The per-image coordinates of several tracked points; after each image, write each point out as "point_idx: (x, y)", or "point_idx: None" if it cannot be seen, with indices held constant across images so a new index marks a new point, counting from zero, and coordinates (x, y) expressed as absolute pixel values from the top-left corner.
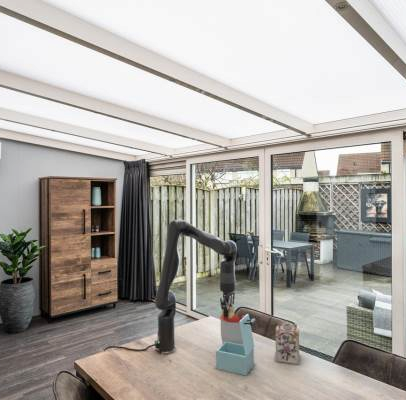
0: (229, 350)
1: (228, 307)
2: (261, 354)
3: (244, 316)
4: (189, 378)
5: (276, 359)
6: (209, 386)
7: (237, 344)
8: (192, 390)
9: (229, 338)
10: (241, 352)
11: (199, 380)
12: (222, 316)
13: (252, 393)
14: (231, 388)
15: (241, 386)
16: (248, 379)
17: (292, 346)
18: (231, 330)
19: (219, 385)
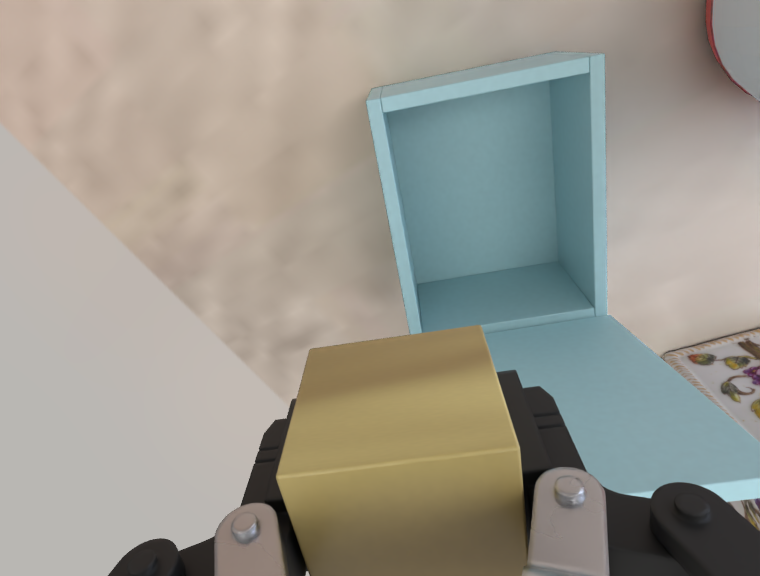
0: (567, 102)
1: (395, 565)
2: (733, 241)
3: (647, 493)
4: (134, 10)
5: (669, 361)
6: (165, 183)
7: (594, 189)
8: (56, 126)
9: (747, 12)
10: (572, 208)
11: (168, 88)
12: (308, 360)
13: (276, 383)
14: (240, 289)
15: (292, 319)
16: (378, 316)
17: (733, 501)
18: None
19: (216, 223)
